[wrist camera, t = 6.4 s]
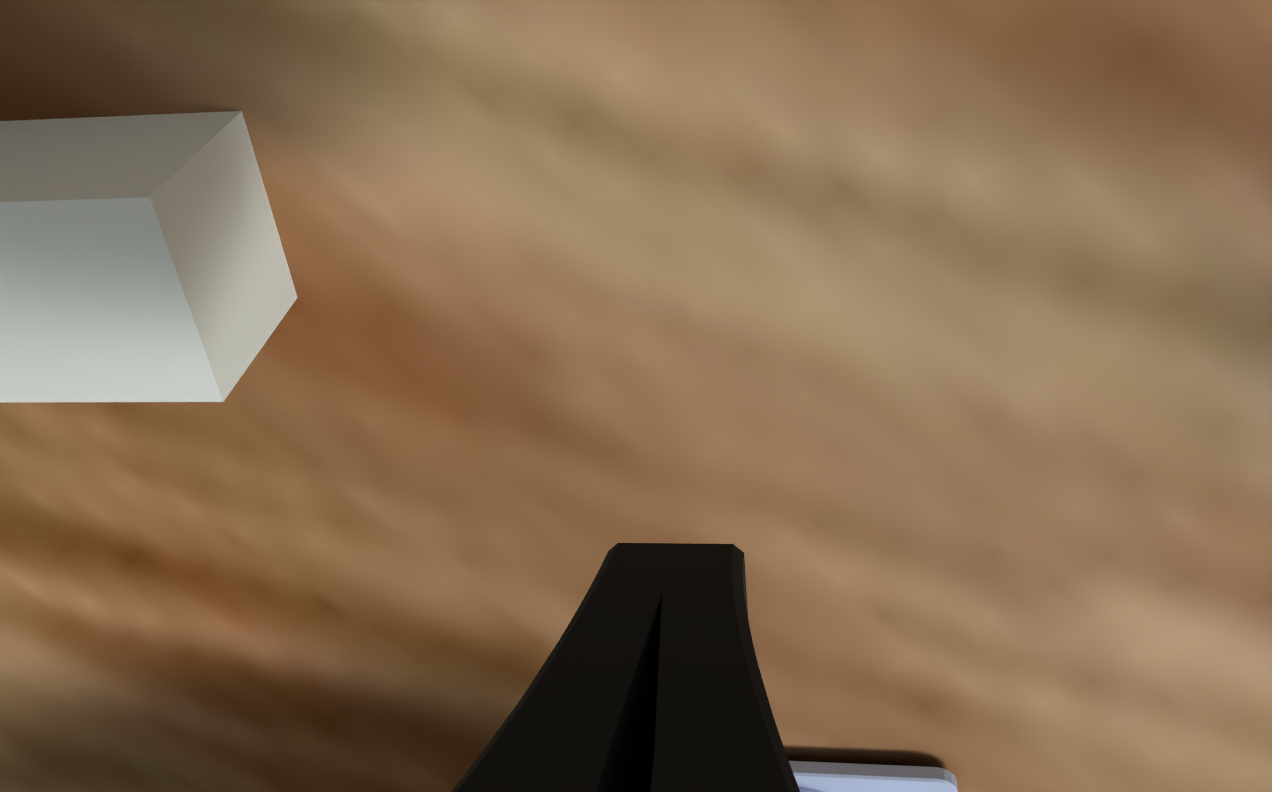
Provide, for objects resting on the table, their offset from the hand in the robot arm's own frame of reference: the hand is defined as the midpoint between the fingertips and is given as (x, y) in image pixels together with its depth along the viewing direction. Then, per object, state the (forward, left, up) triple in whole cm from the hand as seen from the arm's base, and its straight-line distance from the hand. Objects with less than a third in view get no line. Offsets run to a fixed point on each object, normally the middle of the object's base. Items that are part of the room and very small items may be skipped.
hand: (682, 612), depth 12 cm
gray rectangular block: (+1, +14, -9) cm, 16 cm away
